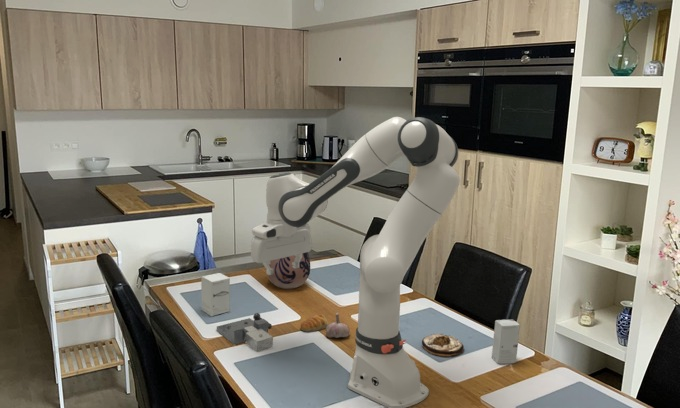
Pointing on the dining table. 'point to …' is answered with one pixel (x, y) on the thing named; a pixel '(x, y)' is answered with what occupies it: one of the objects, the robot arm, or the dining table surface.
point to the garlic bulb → (337, 329)
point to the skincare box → (505, 341)
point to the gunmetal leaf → (240, 329)
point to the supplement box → (215, 294)
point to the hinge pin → (257, 317)
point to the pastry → (314, 323)
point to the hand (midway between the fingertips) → (283, 270)
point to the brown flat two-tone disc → (442, 345)
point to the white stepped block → (257, 339)
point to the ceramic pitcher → (290, 271)
